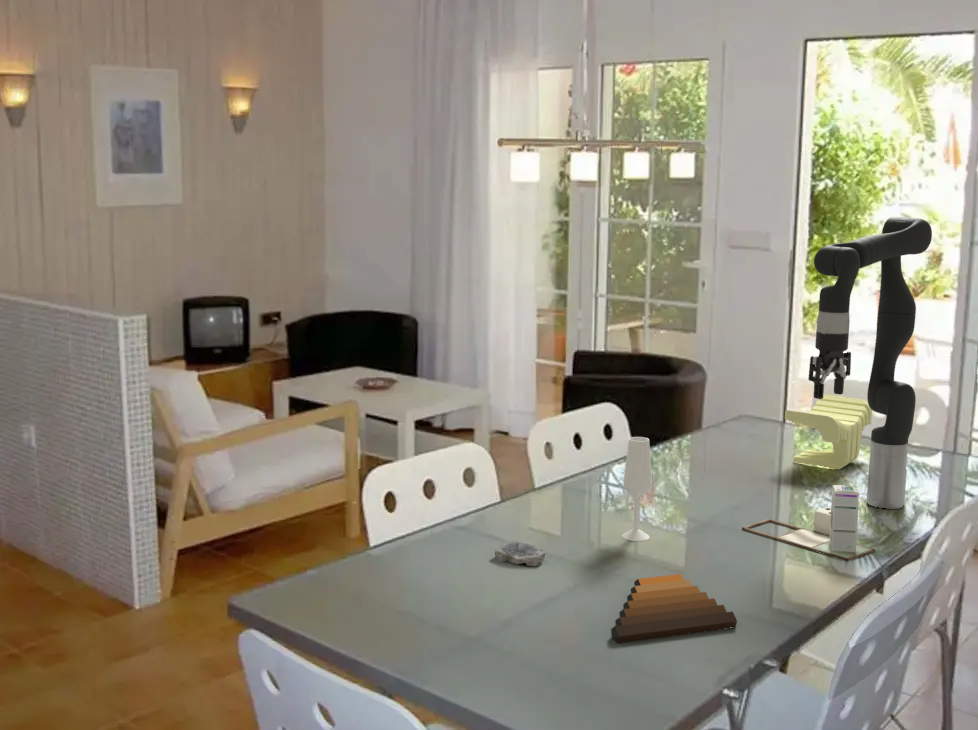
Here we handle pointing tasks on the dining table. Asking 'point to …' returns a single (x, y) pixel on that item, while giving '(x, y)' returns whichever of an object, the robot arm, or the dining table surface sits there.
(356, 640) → the dining table surface
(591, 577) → the dining table surface
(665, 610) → the pan flute
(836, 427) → the slatted curved stool
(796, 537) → the board
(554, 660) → the dining table surface
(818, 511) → the die
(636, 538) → the champagne flute
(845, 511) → the syrup box
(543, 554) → the grey stone dish
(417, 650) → the dining table surface
